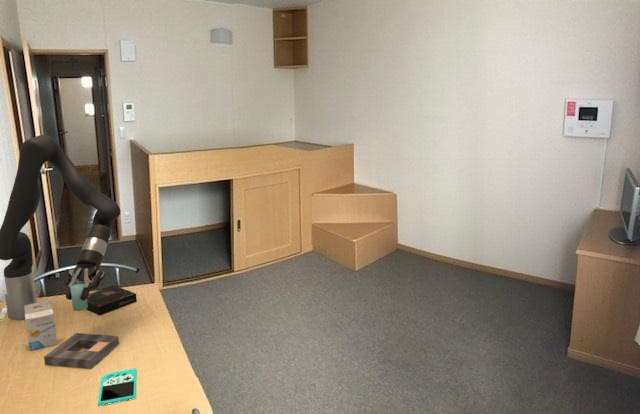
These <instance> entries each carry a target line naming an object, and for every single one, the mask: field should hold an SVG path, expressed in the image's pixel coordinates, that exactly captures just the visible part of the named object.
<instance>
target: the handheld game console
mask: <svg viewBox="0 0 640 414" xmlns="http://www.w3.org/2000/svg"><path fill="white" fill-rule="evenodd" d="M100 380H101V381H100V386H99V392H98V399H97V406H98V405H103V404H108V403H113V404H115V403H114V402H118V401H123V402H125V401H124V400H127V401H129V400H128V399H133V398H135V396H136V395H137V368H130V369H124V370H123V369H122V370H119V371H114V372H110V373H106V374H104V375H103V376H101V379H100ZM136 397H137V396H136ZM135 399H136V398H135ZM133 400H134V399H133ZM118 403H119V402H118ZM103 406H104V405H103Z"/></svg>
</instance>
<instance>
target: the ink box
mask: <svg viewBox="0 0 640 414" xmlns="http://www.w3.org/2000/svg"><path fill="white" fill-rule="evenodd" d="M36 306H37V308H33V307H36ZM38 306H41V307H38ZM24 310H25V319H24V320H25V327H26V334H27V335H26V336H27V341H28V348H29V351H33V350H37V349H42V348H45V347H51V346H55V345H58V338H57V331H56V330H57V329H56V321H55V315H54V310H53V308H52V301H51V300H45V301H40V302H37V303H35V304H30V305H25V306H24Z"/></svg>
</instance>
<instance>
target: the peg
mask: <svg viewBox="0 0 640 414" xmlns="http://www.w3.org/2000/svg"><path fill="white" fill-rule="evenodd" d="M83 288H85V283H80V284H75V285H72V286H71V287H70V289H71V296H72V299H71V303H72V310H73V311H75V312H80V311H81V312H82V311H85V310H86V309H87V308H88V304H87V299H86V300H85V301H83V300H81V299H80V296H81V293H82V291H83Z"/></svg>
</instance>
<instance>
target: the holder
mask: <svg viewBox="0 0 640 414" xmlns="http://www.w3.org/2000/svg"><path fill="white" fill-rule="evenodd" d="M119 345H120V340H119V335H111V334H109V335H107V334H99V333H97V334H94V333H84V332H83V333H82V332H75V333H74V334H73V335H71V336H70V337H68V338H67V339H66V340H64V341H63V342H62V343H60V344H59V345H58V346H56V347H54V349H52V350H51V351H49V352H48V353H47V354H45V355H44V356H43V359H44V365H45V366H54V367H63V368H64V367H65V368H75V369H77V368H78V369H87V370H89V369H90V370H92V369H93V368H94V367H95V366H96V365H97V364H98V363H99V362H101V361H102V360H103V359H104V358H105V357H106V356H107V355H108V354H109V353H111V352H112V351H113V350H114V349H115V348H116V347H117V346H119ZM80 349H87V350H86V351H81V350H80Z"/></svg>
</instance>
